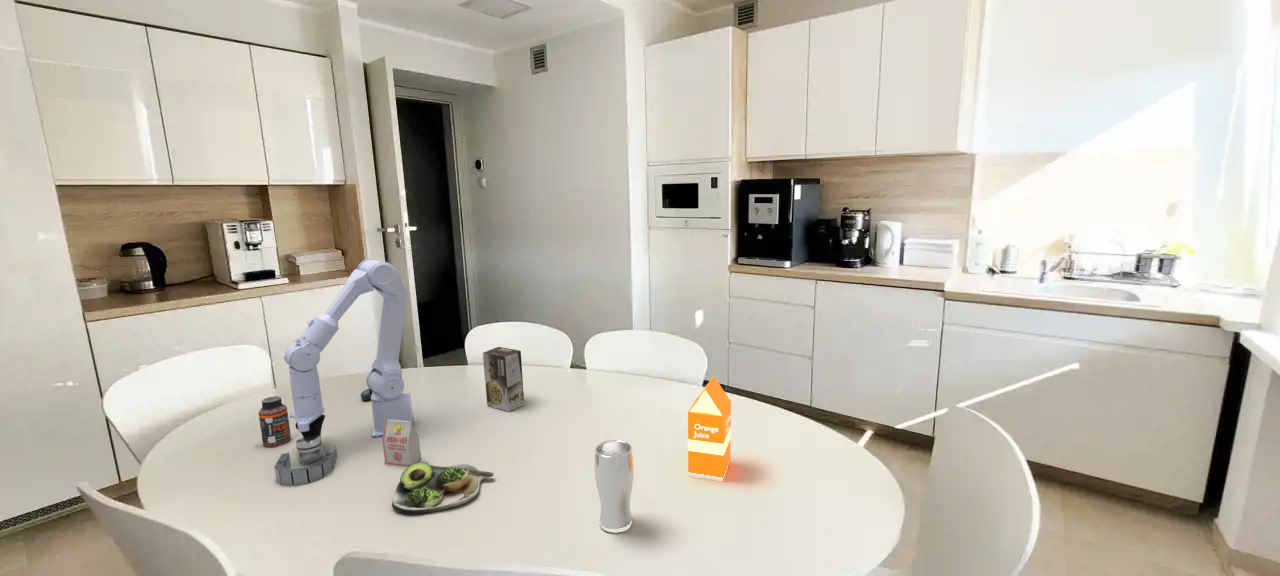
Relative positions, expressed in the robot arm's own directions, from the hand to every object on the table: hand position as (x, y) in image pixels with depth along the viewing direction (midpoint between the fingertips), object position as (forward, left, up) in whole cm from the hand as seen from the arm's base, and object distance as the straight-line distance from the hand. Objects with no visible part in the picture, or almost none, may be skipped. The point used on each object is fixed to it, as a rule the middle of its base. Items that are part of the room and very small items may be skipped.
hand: (314, 447), depth 132 cm
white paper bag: (-20, +13, -1) cm, 24 cm away
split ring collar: (0, +10, -1) cm, 10 cm away
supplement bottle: (+10, -10, -1) cm, 14 cm away
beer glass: (-58, +54, -1) cm, 79 cm away
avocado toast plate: (-27, +29, -2) cm, 40 cm away
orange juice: (-83, +43, -1) cm, 94 cm away
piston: (0, +4, -1) cm, 4 cm away
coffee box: (-46, -11, -1) cm, 47 cm away
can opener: (-10, -39, -2) cm, 40 cm away
